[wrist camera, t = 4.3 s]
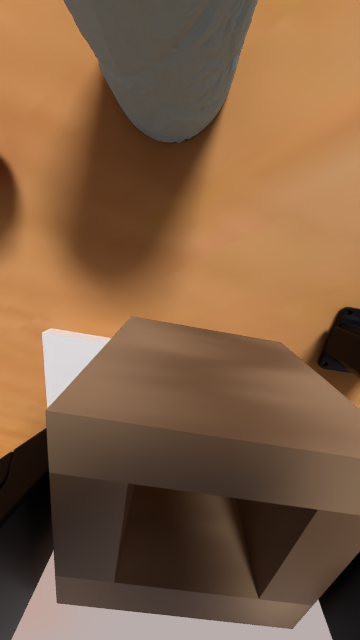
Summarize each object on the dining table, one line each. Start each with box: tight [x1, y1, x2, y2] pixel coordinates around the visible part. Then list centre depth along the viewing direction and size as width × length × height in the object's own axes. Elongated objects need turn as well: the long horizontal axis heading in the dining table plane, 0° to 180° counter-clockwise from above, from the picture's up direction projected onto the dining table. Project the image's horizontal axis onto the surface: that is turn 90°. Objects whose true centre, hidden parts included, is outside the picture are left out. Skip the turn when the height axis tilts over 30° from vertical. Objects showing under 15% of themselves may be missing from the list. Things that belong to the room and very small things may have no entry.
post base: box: [42, 328, 111, 408], centre depth 18 cm, size 10×10×6 cm
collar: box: [46, 316, 360, 629], centre depth 6 cm, size 6×6×5 cm
